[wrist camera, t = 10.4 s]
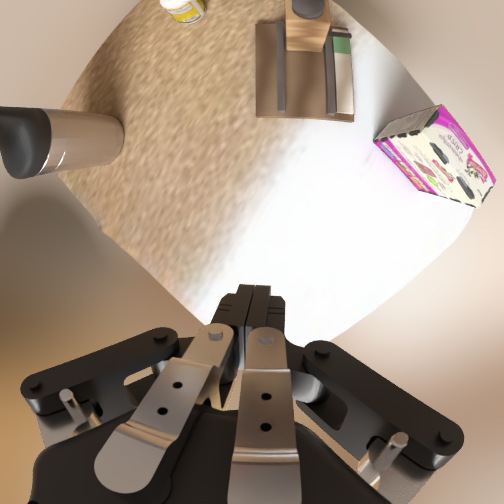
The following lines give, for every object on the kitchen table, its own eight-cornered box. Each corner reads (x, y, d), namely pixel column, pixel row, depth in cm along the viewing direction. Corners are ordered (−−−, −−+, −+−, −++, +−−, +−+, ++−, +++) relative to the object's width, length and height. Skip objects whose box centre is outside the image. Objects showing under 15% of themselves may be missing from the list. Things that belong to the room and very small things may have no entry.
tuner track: (256, 117, 36) (254, 113, 33) (256, 27, 31) (254, 18, 28) (351, 122, 35) (357, 119, 31) (346, 32, 29) (350, 23, 26)
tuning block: (286, 50, 31) (285, 13, 20) (285, 29, 29) (284, -11, 18) (347, 55, 29) (367, 22, 19) (345, 34, 28) (363, -3, 17)
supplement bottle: (187, -1, 29) (166, -27, 20) (212, 6, 30) (195, -23, 21) (170, 21, 31) (145, -3, 22) (195, 28, 32) (173, 2, 23)
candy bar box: (434, 169, 35) (498, 181, 19) (418, 191, 36) (478, 212, 21) (388, 119, 34) (443, 101, 18) (370, 141, 35) (419, 133, 20)
